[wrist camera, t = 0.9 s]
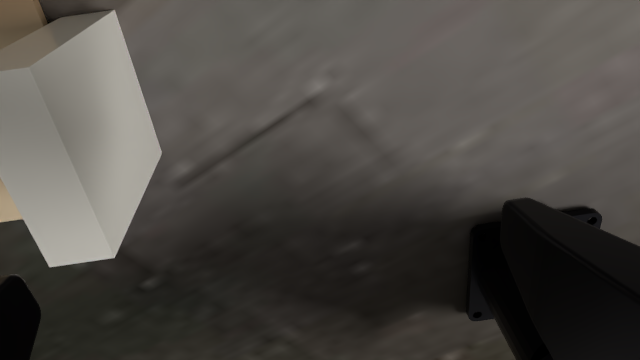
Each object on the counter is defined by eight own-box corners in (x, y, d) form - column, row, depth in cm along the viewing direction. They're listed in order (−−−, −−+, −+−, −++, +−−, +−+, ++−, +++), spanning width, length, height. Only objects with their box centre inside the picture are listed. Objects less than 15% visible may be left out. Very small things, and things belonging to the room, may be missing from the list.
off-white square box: (162, 153, 20) (114, 257, 14) (112, 160, 20) (44, 268, 14) (114, 9, 17) (29, 67, 11) (56, 17, 17) (-60, 79, 11)
